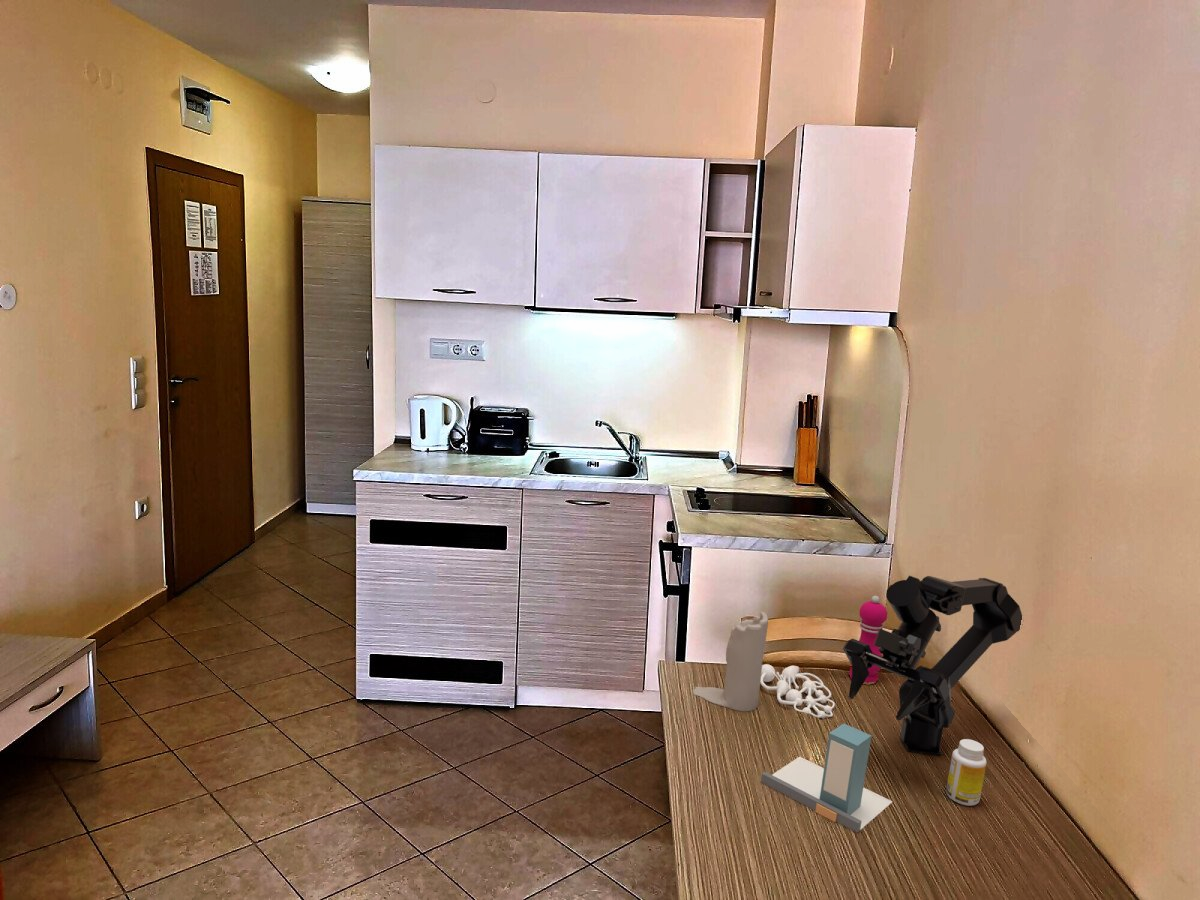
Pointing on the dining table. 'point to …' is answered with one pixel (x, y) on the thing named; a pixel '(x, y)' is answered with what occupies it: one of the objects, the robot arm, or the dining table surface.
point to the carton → (845, 768)
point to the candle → (741, 667)
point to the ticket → (826, 812)
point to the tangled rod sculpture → (795, 695)
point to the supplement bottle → (966, 773)
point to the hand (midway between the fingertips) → (873, 708)
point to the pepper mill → (871, 630)
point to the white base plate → (805, 787)
